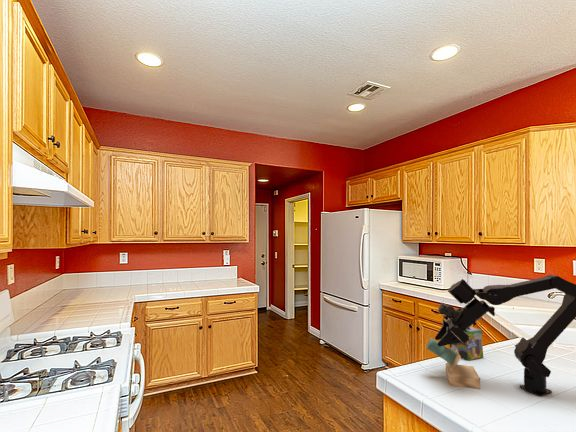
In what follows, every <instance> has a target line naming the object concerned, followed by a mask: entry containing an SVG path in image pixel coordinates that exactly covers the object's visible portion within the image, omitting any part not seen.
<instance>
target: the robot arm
mask: <svg viewBox="0 0 576 432" xmlns="http://www.w3.org/2000/svg"><path fill="white" fill-rule="evenodd" d="M553 289H556V290H557V291H558V292H559V291H560V292H562V293H564V295H563V298H562V303H561V305H560V306H559V308H557V310H556V311H554V313H553V314H552V315H551V316H550V317H549V319H548V320H546V322H545V323H544V325H542V326H541V328H540V329H539V330H538V331H537V332H536V333H535V334H534V335H533V336H532V337H531V338H528V339H526V338H525V337H521V338H520V339H519V341H518V343H517V344H514V347H515V348H514V349H513V352H514V356H515V358H516V359H517V360H518V361H519V362H520V364H521V365H522V366H523V367H524V368H523V369H524V370H523V384H521V385H519V388H520V389H522V390H523V391H527V392H530V393H532V394H534V395H537V396H538V397H542V396H546V395H549V394H552V392H553V391H552V389H548V388H547V378H549V377H550V376H551V374H552V371H551V370H550V369H549V367H548V366H546V365H545V364H544V361H545V359H546V356H547V352H548V349H549V347H550V346H552V344H553V343H554V342H555V341H556V339H557V338H559V336H560V335H561V334H562V333H563V332H564V331H565V330H566V329H567V327H568V326H569V325H570V324H571V323H572V322H573V321H574V320H575V319H576V283H573V282H570V281H568V280H566V279H564V278H562V277H560V276H558V275H555V274H547V275H545V276H542V277H538V278H537V277H536V278H533V279H528V280H524V281H520V282H516V283H511V284H491V285H486V286H484V287H483V288H476V289H475V288H472V287H471V286H470V285H469V284H468V282H467V281H466V280H465V279H463V278H462V279H460V280H459V281H457V282H455V283H453V284H452V285H450V287H449V288H448V290H447V292H448V294H450V295H451V296H452V297H453V298H454V299H455V300H456V301H457V302H458V303H459V304H465V306H463V307H458V308H457V309H456V308H454V306H452V305H450V304H446V303H445V302H440V304H439V307H438V308H437V311H438V313H440V314H441V315H442V320H441V321H442V325H441V327H440V328H439V331H438V332H437V334H436V335H435V336H434V340H436V341H437V342H438V343H437V345H438V346H439V347H440V346H445V347H446V346H450V344H454V343H459V342H460V343H461V342H463V343H464V344H465V343H466V342H468V341H469V336H468V334H467V333H466V332H467V329H468V328H469V327H470V326H471V327H472V326H473V327H475V326H476V325H477V322H478V321H479V320H480V319H481V318H483V317H484V316H485V315H486V314H487V313H489V314H491V315H492V316H493V317H495V316H496V312H495V309H496V308H495V307H494V306H500V305H502V304H505V303H508V302H509V301H511V300H513V299H515V298H517V297H522V296H525V295H531V294H535V293H540V292H544V291H550V290H553ZM476 296H477V297H478V298H479V299H480V300H479V299H478V298H477V297H476ZM485 301H486V302H485ZM489 304H490V305H491V306H490V305H489ZM492 305H493V306H492Z"/></svg>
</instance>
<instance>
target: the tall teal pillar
mask: <svg viewBox="0 0 576 432" xmlns="http://www.w3.org/2000/svg"><path fill="white" fill-rule="evenodd" d="M438 342H439V341H438V340H436V339H435V338H433V337H430V338H429V341H428V342H427V344H426V350H428V351H429V352H430V353H433V354H434V355H436V356H438V357H439V358H440V359H442V360H444V361H445V362H446V363H447V365H448V367H449V370H450V371H451V372H452V371H453V370H454V368H455V367H456V365H458V363H459V362H460V361H461V359H462V358H461V356H460V355H459V353H458V351H457V350H456V349H455V350H454V352H453V351H452V350H450V347H447V346H446V345H445V346H440V347H439V346H438V345H437V343H438Z"/></svg>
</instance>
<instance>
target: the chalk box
mask: <svg viewBox="0 0 576 432" xmlns="http://www.w3.org/2000/svg"><path fill="white" fill-rule="evenodd" d="M466 333H467V334H468V336H469V341H468V342H466V343H465V344H464V343H463V342H461V343H460V342H459V343H454V344H449V349H450V350H452V351H453V352H454V350H455V349H456V350H457V351H458V353H459V355H460V356H461V359H462V360H465V361H472V360H477V359H481V358H484V346H483V330H482V329H480V328H478V327H475V326H472V325H471V326H470V327H469V328H468V329H467V332H466Z"/></svg>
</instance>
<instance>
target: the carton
mask: <svg viewBox="0 0 576 432" xmlns="http://www.w3.org/2000/svg"><path fill="white" fill-rule="evenodd" d="M445 375H446V378H447V380H448V383H449V385H450V386H455V387H461V388H462V387H463V388H470V389H477V390H480V389H481V377H480V376H479V374H478V372H477V371H476V369H475V367H474V366H473V365H465V364H457V365H456V367H455V368H454V370H453V371H452V372H451V371H450V370H449V367H448V365H447V362H445Z"/></svg>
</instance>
